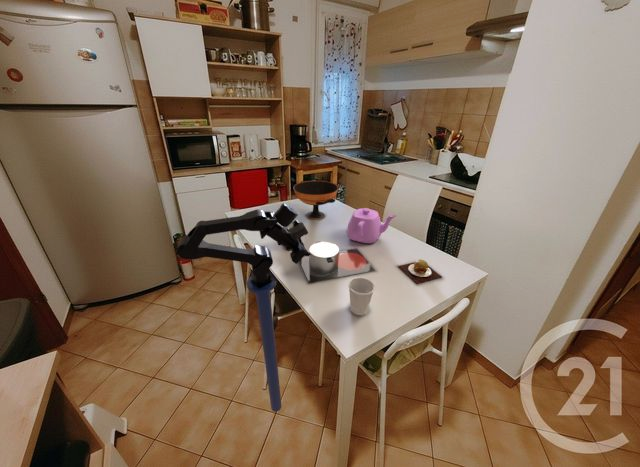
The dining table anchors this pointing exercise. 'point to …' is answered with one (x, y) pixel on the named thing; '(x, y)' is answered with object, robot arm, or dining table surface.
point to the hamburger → (419, 271)
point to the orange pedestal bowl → (316, 195)
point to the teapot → (366, 225)
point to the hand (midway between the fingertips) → (309, 254)
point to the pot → (323, 257)
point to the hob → (339, 266)
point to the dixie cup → (360, 295)
